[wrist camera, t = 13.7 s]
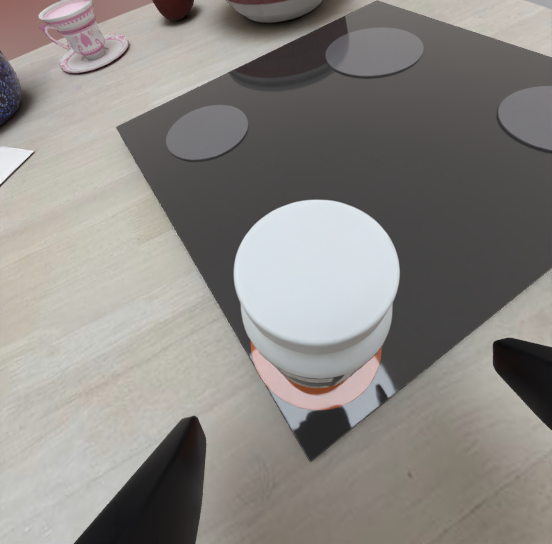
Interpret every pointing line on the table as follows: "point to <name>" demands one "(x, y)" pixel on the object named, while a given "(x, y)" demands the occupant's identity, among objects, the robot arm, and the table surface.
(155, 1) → the potato
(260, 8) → the bowl
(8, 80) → the planter
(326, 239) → the pill bottle
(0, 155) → the coaster
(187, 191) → the hob
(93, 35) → the teacup
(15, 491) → the table surface
